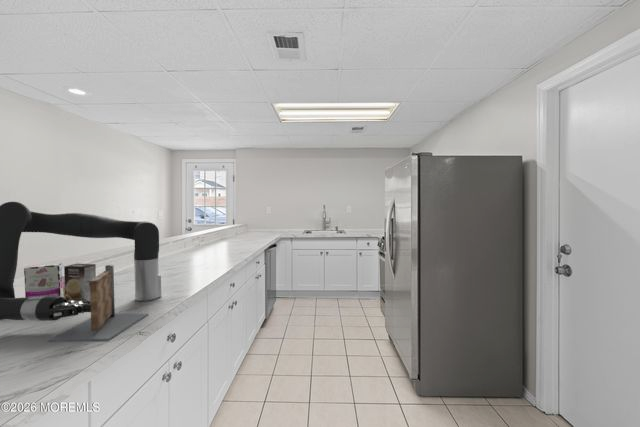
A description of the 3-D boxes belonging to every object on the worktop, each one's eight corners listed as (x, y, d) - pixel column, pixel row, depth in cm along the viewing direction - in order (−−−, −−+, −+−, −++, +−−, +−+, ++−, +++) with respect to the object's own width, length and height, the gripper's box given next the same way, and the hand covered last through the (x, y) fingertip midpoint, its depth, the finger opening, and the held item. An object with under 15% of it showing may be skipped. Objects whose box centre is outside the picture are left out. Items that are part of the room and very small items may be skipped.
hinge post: (109, 317, 115) (108, 264, 114) (116, 317, 115) (114, 264, 114) (105, 319, 113) (103, 266, 112) (112, 319, 113) (110, 266, 112)
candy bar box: (64, 301, 135) (62, 262, 134) (60, 304, 130) (59, 264, 130) (29, 305, 130) (28, 265, 129) (25, 309, 125) (23, 267, 125)
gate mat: (99, 315, 117) (99, 314, 117) (148, 315, 117) (148, 313, 117) (48, 341, 95) (48, 339, 95) (109, 340, 95) (109, 338, 95)
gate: (106, 314, 112) (104, 270, 111) (112, 313, 113) (111, 270, 112) (90, 331, 96) (88, 281, 96) (98, 330, 97) (96, 280, 97)
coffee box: (63, 305, 129) (62, 266, 129) (77, 300, 135) (76, 263, 135) (84, 306, 128) (83, 266, 128) (97, 301, 134) (96, 263, 134)
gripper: (24, 303, 97) (82, 302, 97) (60, 291, 110) (110, 291, 110) (25, 327, 97) (82, 327, 97) (60, 312, 110) (111, 312, 110)
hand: (97, 308), depth 103 cm, fingers closed
